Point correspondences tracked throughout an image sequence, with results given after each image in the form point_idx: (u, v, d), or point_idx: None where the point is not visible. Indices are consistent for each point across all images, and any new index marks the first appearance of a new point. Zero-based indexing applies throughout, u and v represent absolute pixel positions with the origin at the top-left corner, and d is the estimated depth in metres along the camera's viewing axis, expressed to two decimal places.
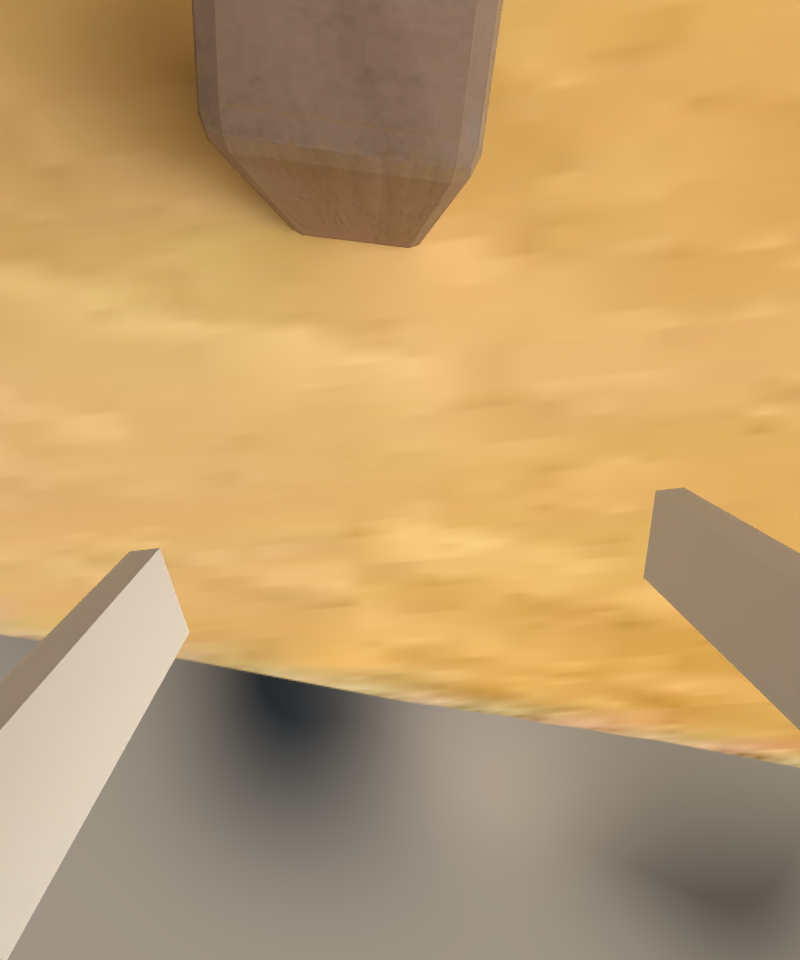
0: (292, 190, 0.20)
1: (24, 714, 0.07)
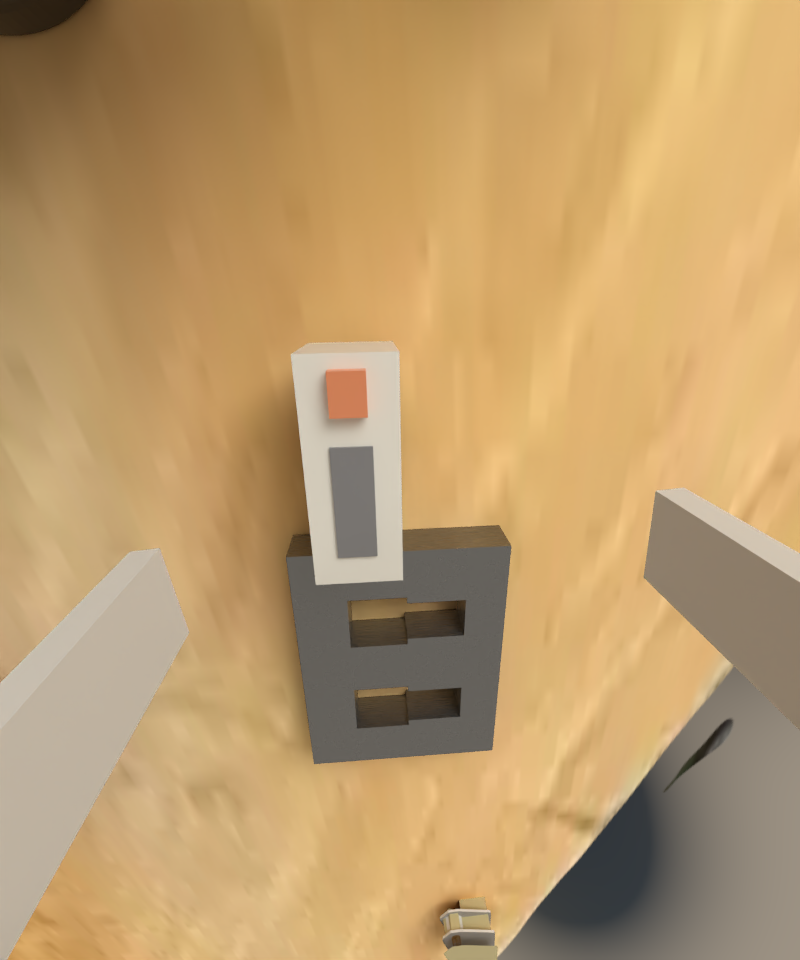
0: None
1: (24, 714, 0.07)
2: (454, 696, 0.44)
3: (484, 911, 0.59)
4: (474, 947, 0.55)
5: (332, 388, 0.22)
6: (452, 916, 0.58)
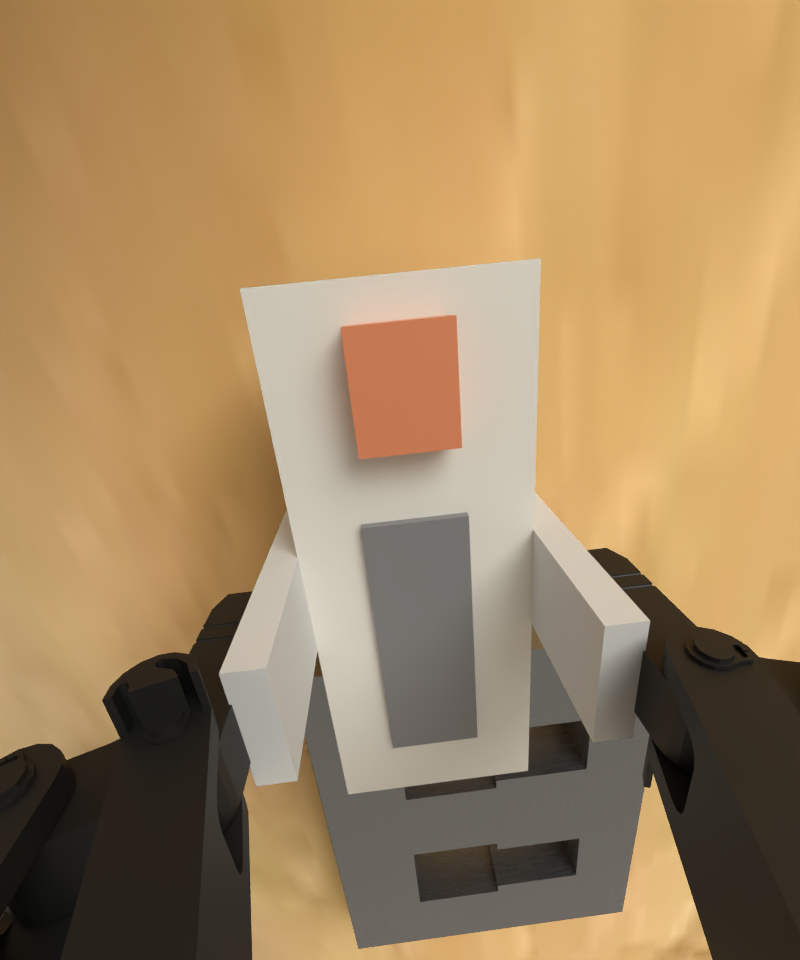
0: None
1: (287, 603, 0.09)
2: None
3: None
4: None
5: (363, 375, 0.08)
6: None
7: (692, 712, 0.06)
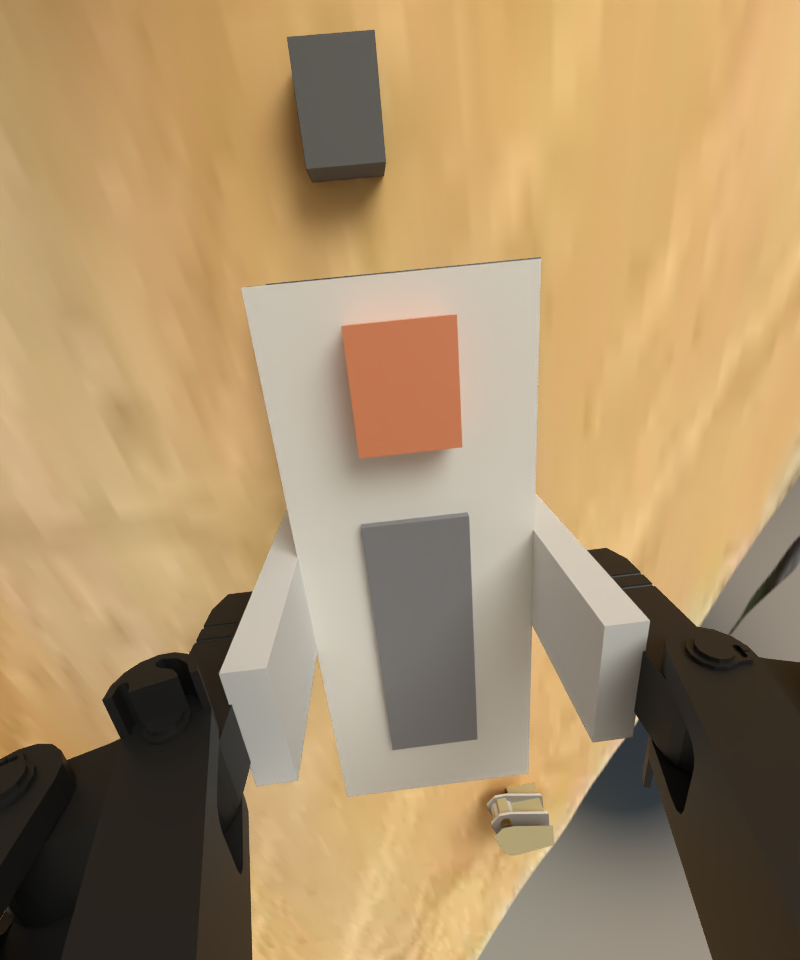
0: None
1: (287, 603, 0.09)
2: None
3: (535, 795, 0.53)
4: (527, 829, 0.50)
5: (363, 374, 0.08)
6: (500, 801, 0.53)
7: (692, 712, 0.06)
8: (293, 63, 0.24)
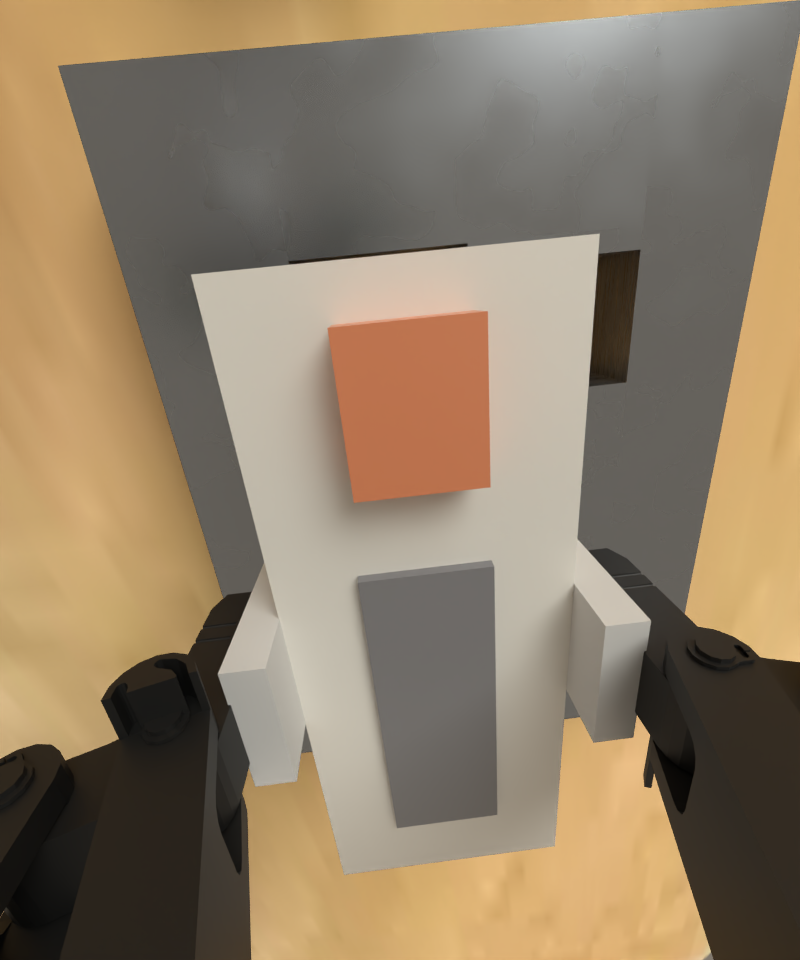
0: None
1: None
2: None
3: None
4: None
5: (359, 393, 0.06)
6: None
7: (693, 712, 0.06)
8: None
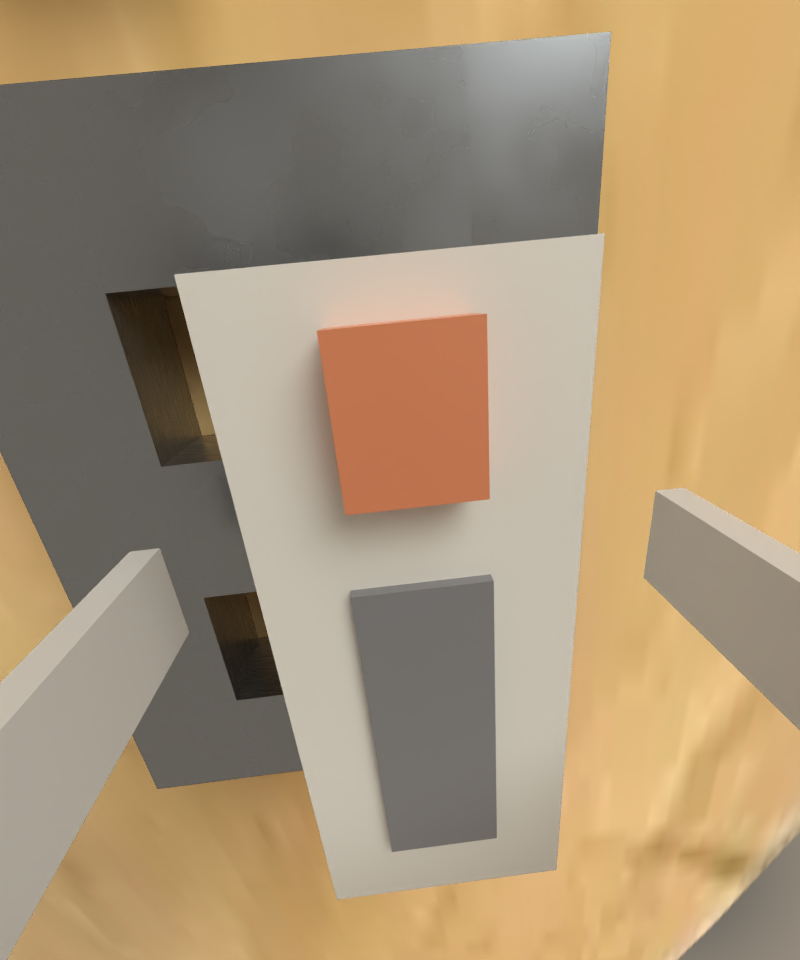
0: None
1: (25, 714, 0.07)
2: None
3: None
4: None
5: (350, 400, 0.05)
6: None
7: None
8: None
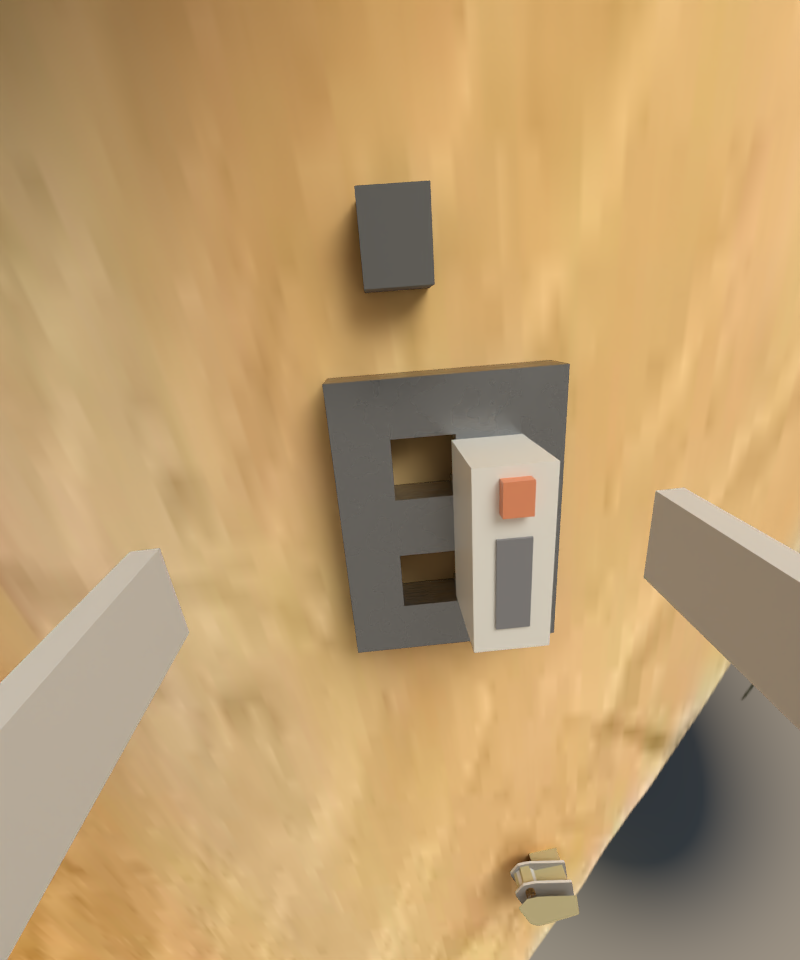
0: None
1: (24, 714, 0.07)
2: None
3: (557, 861, 0.54)
4: (552, 899, 0.51)
5: (507, 495, 0.26)
6: (523, 869, 0.54)
7: None
8: (358, 206, 0.27)
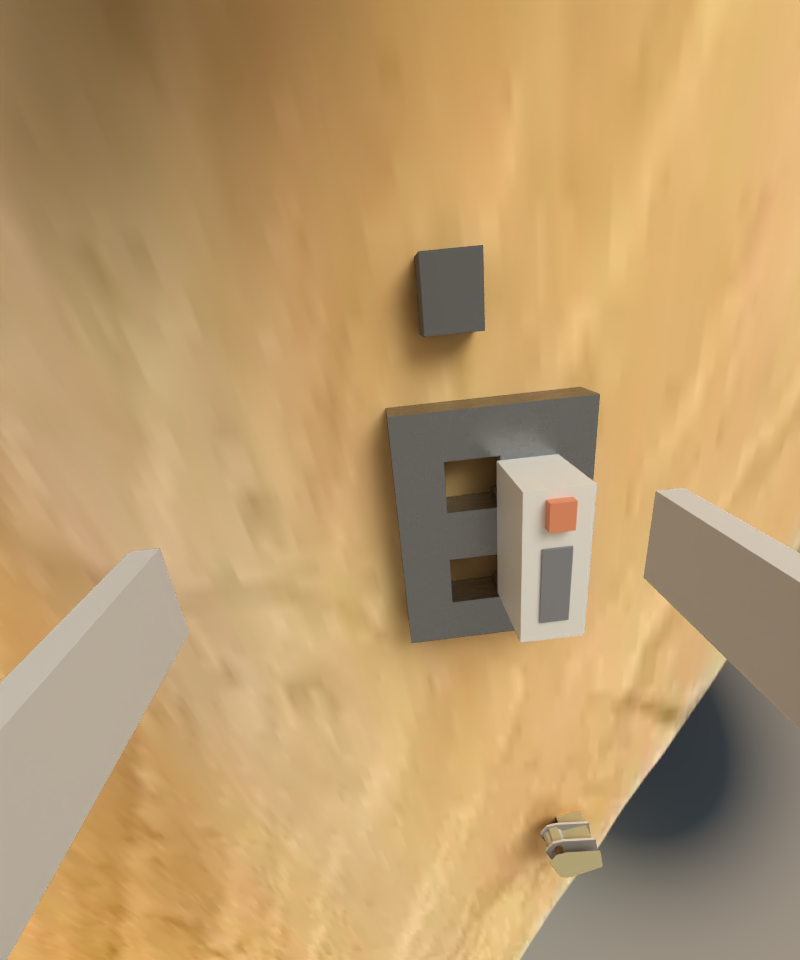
0: None
1: (24, 714, 0.07)
2: None
3: (582, 822, 0.61)
4: (578, 854, 0.58)
5: (553, 514, 0.31)
6: (552, 830, 0.60)
7: None
8: (421, 268, 0.32)
